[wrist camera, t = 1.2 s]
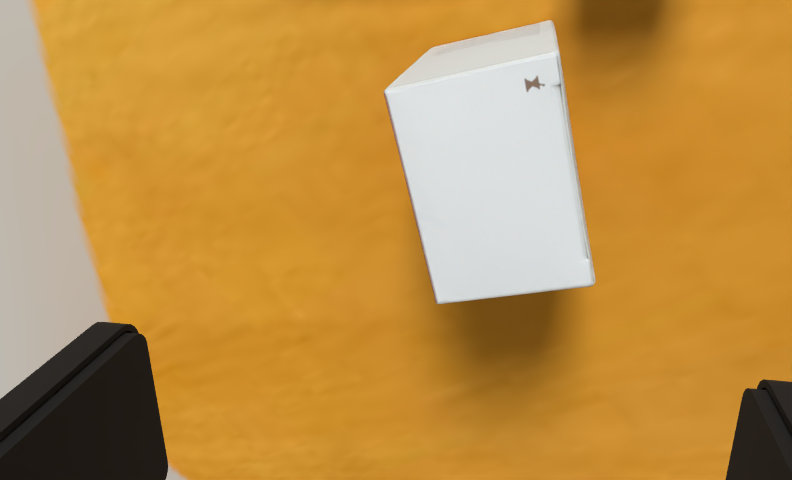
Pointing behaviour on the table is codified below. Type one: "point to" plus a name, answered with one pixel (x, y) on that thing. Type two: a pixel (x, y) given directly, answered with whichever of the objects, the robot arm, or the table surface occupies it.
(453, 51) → the small box
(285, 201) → the table surface
